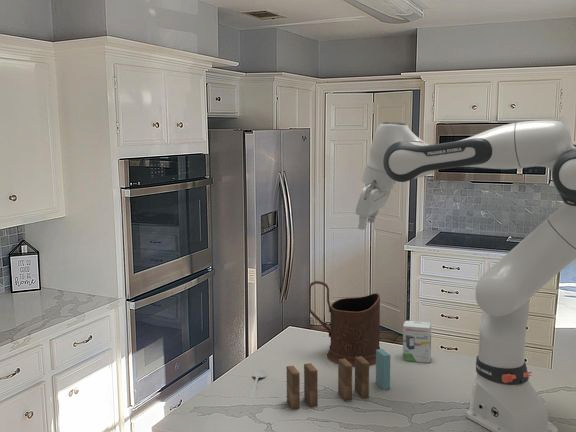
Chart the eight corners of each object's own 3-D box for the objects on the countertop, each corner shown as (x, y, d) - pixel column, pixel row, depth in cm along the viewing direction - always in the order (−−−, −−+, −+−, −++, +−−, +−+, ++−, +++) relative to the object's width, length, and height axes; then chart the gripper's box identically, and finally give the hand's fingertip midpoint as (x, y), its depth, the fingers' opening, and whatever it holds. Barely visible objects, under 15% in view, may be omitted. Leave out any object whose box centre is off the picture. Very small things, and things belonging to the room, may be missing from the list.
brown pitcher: (387, 367, 179) (388, 288, 175) (309, 367, 180) (309, 289, 176) (379, 345, 197) (380, 273, 194) (308, 345, 198) (308, 274, 194)
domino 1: (293, 400, 158) (293, 365, 156) (299, 408, 153) (299, 372, 151) (286, 401, 157) (286, 366, 156) (292, 409, 152) (292, 373, 151)
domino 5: (381, 381, 169) (382, 348, 167) (389, 388, 164) (390, 355, 163) (375, 382, 168) (376, 349, 167) (383, 389, 163) (384, 356, 162)
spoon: (268, 372, 177) (268, 367, 177) (256, 404, 157) (256, 398, 156) (254, 372, 177) (254, 367, 177) (241, 403, 157) (241, 397, 157)
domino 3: (344, 392, 162) (344, 358, 161) (352, 400, 157) (352, 365, 156) (338, 393, 161) (338, 359, 160) (345, 401, 157) (345, 366, 155)
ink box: (430, 357, 186) (431, 322, 184) (429, 363, 181) (430, 327, 180) (403, 354, 189) (404, 319, 187) (402, 360, 184) (402, 325, 182)
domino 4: (361, 389, 164) (361, 356, 162) (368, 397, 159) (369, 362, 157) (354, 390, 163) (354, 357, 162) (362, 398, 158) (362, 363, 157)
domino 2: (311, 397, 159) (311, 363, 158) (317, 405, 154) (317, 370, 153) (304, 398, 158) (304, 363, 157) (310, 406, 154) (310, 371, 152)
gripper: (380, 187, 149) (366, 236, 153) (397, 177, 168) (385, 222, 172) (357, 180, 152) (344, 229, 155) (377, 171, 170) (365, 215, 174)
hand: (366, 225), depth 164 cm, fingers open, 8 cm apart
